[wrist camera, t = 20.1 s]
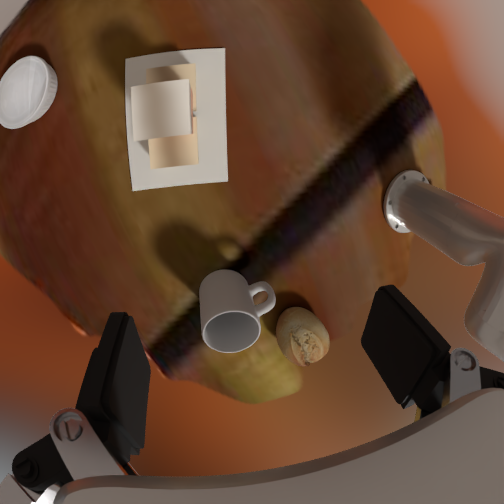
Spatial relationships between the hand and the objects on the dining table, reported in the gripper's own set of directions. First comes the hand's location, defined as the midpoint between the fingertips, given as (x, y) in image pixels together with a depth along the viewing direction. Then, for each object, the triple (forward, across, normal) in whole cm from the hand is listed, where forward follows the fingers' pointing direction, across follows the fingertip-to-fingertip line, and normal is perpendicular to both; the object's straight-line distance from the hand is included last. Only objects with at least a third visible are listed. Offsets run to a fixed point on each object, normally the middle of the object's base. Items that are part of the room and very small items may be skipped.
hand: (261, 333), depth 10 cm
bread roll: (+33, -15, +31) cm, 47 cm away
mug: (+32, -2, +19) cm, 37 cm away
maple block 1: (+31, +6, -12) cm, 34 cm away
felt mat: (+32, +6, -9) cm, 33 cm away
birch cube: (+21, +6, -9) cm, 24 cm away
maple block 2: (+31, +6, -6) cm, 32 cm away
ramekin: (+31, +29, -18) cm, 46 cm away
